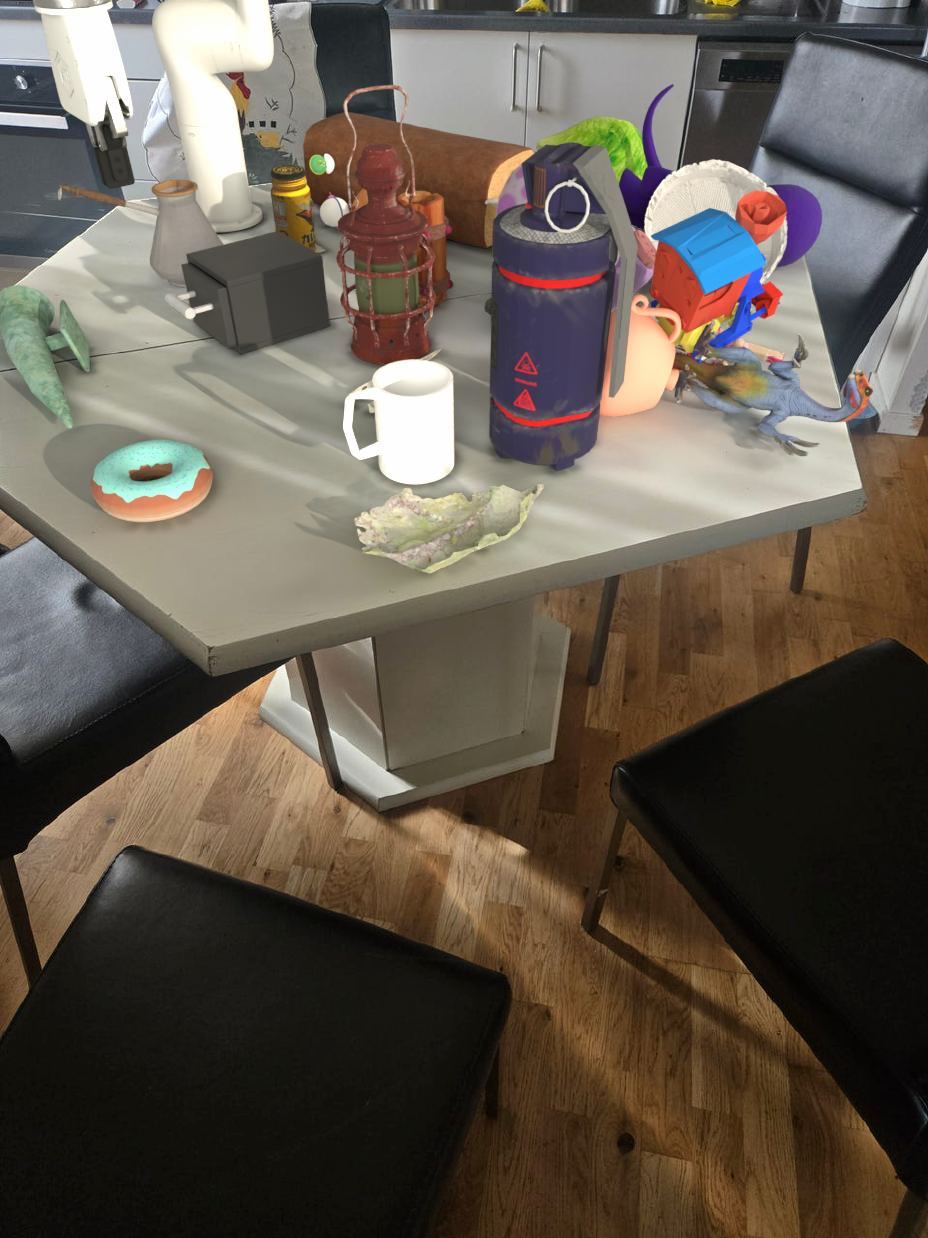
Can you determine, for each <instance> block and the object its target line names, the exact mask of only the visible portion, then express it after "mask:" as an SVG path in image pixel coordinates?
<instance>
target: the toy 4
mask: <svg viewBox="0 0 928 1238" xmlns="http://www.w3.org/2000/svg"><path fill="white" fill-rule="evenodd" d="M674 86H675V85H674V84H673V83H672V84H670V85H668V86H666V87H665V88H663V89H662V90H661V91H660V92H659V93H658V94H656V96H655V97H654V98H653V100H651V103H650V104H649V107H648V109H647V111H646V114H645V117H644V120H643V124H642V130H641V131H642V132H641V133H642V134H641V135H642V143H643V150H644V155H645V158H646V162H647V166H648V167H647V168H646V169H645V171H644V174H643V178H642V180H641V179H640V178H639V177H638V176H637V175H635V174H634V173H633V172H632V171H631V170H630V169H628V168H625V169H624V171H623V173H622V175H621V179H620V182H619V188H620V191H621V193H622V196H623V199H624V203H625V206H626V209H627V212H628V216H629V219H630V222H631V225H632V226H633V227H636V228H638V229H639V230H640V229H641V230H644V231H645V228H644V226H645V215H646V212H647V208H648V206H649V201H650V200H651V197H652V196H653V194H654V192H655V191H656V189H657V188H658V186H659V185H660V184H661V182H662V181H663V180H664V179H666V177H667V176H668V175H669V174H671V175H672V172H674V171H676V170H673V169H672V170H671V169H668V168H665V167H663V166H662V164H661V162H660V159H659V156H658V153H657V150H656V146H655V141H654V138H653V118H654V115H655V110H656V108H657V106H658V104H659V103H660V102H661V100H662V99H663V97H665V96H666V94H667V93H668V92H669V91H670V90H671V89H672V88H674ZM677 171H678V170H677ZM677 171H676V172H677ZM766 187H771V188H772V189H774V191H775V192H776V193H777V195H778V196H779V197H780V199H781V200H782V201H783V202H784V203H785V204H786V209H787V213H786V221H787V227H788V229H787V244H786V248H785V251H784V253H783V256H782V258H781V260H780V261H779V263H778V264H777V267H776V268H778V267H779V268H780V267H786V266H790V265H792V264H794V263H795V262H797V261H798V260H801V258H803V256H805V255H806V254H807V253H808V252H809V251H810V250H811V248H812V247H813V246H814V245H815V243H816V242H817V239H818V237H819V235H820V233H821V229H822V224H823V211H822V206H821V203H820V202H819V199H818V198H817V197H816V196H815V195H814V194H813V193H812V192H811V191H809V190H808V189H806V188H805V187H802V186H800V185H797V184H789V183H788V184H787V183H786V184H785V183H784V184H769V185H766Z"/></svg>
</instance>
